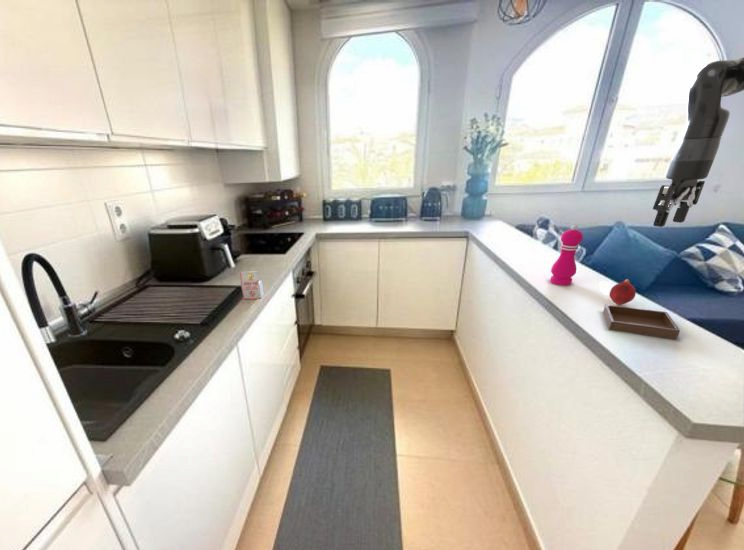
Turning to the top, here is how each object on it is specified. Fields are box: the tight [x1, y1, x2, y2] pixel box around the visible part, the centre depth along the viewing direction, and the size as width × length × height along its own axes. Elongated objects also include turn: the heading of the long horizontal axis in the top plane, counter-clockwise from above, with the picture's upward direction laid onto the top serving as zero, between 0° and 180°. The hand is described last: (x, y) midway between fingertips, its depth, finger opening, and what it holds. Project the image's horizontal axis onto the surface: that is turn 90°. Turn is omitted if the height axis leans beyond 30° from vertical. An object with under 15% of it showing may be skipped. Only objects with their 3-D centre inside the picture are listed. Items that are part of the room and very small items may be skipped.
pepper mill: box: [549, 224, 584, 286], centre depth 116 cm, size 7×7×20 cm
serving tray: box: [602, 304, 681, 340], centre depth 91 cm, size 13×11×2 cm
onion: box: [609, 279, 637, 306], centre depth 100 cm, size 6×6×8 cm
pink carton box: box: [239, 270, 265, 300], centre depth 125 cm, size 4×7×10 cm, turn 85°
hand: (668, 224), depth 92 cm, fingers open, 8 cm apart
